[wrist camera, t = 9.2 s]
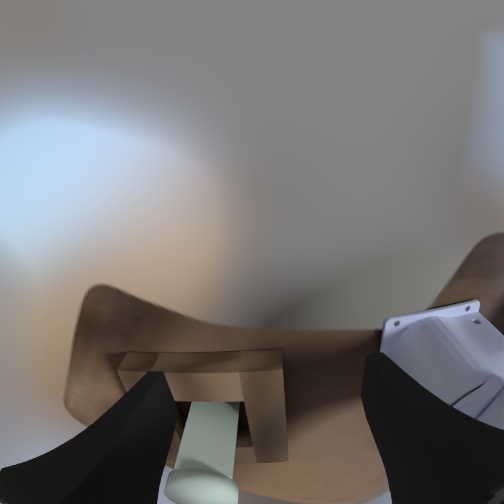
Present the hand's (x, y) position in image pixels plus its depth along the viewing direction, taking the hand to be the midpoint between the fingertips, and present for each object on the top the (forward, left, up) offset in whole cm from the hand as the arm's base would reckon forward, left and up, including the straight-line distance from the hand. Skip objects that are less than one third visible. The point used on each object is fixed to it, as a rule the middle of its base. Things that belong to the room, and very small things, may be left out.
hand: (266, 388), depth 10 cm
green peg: (+6, +13, -10) cm, 18 cm away
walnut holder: (+6, +12, -10) cm, 17 cm away
